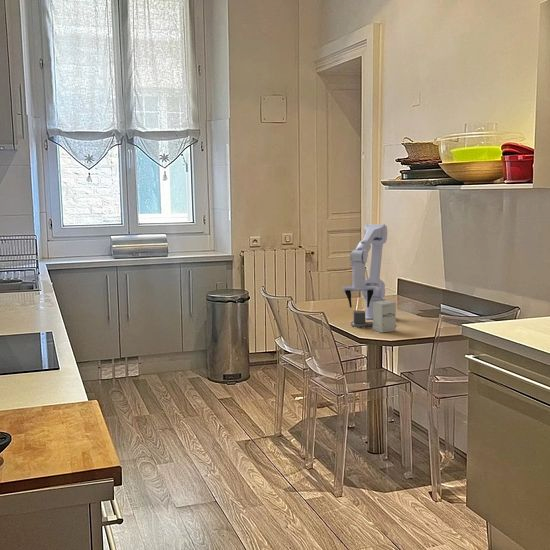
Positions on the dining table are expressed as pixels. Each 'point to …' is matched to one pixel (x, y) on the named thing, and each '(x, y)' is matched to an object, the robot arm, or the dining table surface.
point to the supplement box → (384, 316)
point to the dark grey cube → (359, 317)
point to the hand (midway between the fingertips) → (359, 307)
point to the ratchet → (362, 324)
